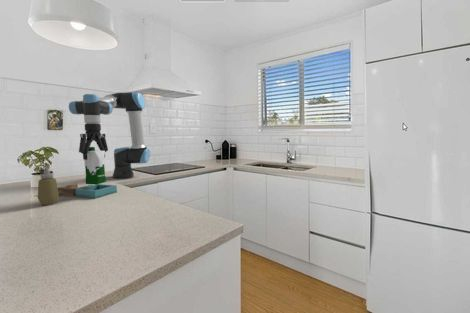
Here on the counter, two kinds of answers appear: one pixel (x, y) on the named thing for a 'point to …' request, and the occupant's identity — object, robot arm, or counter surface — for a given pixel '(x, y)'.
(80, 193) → the tray
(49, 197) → the squeeze bottle
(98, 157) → the soya milk
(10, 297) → the counter surface
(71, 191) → the dock
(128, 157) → the robot arm
